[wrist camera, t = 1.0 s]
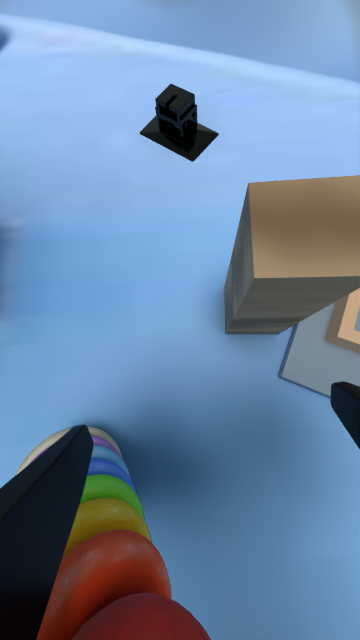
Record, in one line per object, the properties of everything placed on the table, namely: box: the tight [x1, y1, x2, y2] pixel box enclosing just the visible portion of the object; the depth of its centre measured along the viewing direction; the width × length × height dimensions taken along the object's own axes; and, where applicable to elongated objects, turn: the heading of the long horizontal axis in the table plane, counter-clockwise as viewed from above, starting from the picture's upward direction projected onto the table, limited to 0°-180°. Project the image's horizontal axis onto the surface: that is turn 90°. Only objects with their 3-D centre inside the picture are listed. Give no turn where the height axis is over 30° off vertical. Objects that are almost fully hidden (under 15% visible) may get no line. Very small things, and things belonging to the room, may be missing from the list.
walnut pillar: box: [224, 175, 360, 334], centre depth 16 cm, size 5×5×13 cm
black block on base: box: [140, 84, 219, 162], centre depth 27 cm, size 12×7×5 cm, turn 51°
